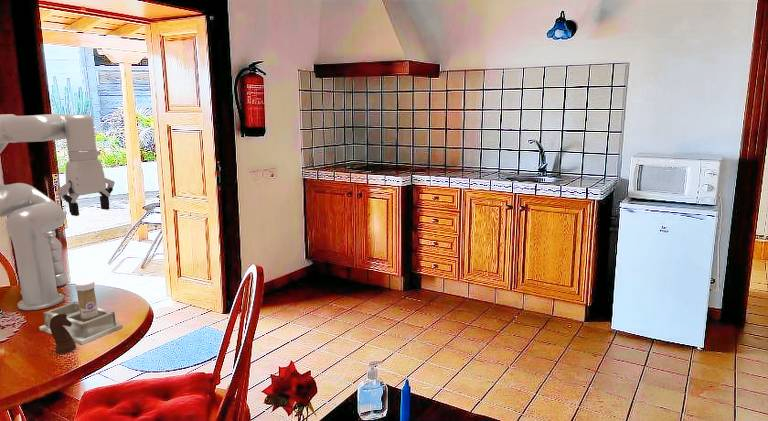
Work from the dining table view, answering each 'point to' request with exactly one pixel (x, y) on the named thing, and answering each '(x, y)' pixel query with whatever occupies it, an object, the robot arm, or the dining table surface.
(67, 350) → the chess piece
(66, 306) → the slot rack
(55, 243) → the plastic bottle
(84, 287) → the sprinkles bottle
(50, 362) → the dining table surface
